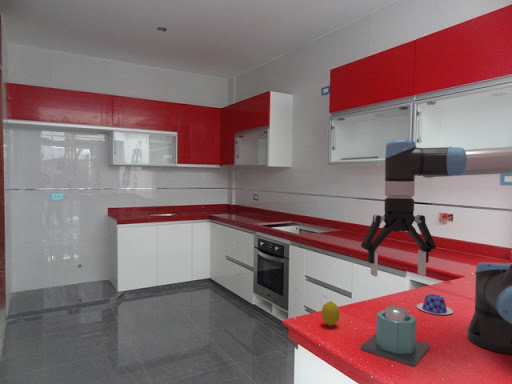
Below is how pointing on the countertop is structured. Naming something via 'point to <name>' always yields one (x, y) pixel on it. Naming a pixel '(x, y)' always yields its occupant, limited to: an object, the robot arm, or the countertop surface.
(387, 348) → the collar
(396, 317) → the domed lamp fixture
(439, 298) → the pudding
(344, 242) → the countertop surface
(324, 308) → the lemon
